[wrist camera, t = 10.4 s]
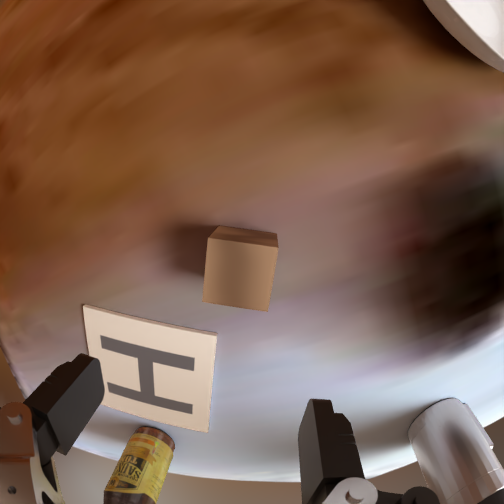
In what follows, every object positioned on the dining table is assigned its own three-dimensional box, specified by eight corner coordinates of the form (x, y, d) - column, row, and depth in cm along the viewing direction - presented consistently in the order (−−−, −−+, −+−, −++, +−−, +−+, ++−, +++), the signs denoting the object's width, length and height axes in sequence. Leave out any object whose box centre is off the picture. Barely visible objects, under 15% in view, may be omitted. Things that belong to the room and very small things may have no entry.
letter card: (217, 333, 29) (216, 336, 28) (208, 429, 33) (207, 432, 32) (85, 304, 29) (82, 306, 28) (101, 400, 33) (99, 403, 32)
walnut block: (276, 233, 26) (278, 247, 21) (268, 287, 27) (267, 311, 22) (219, 225, 26) (207, 237, 21) (213, 279, 27) (202, 301, 23)
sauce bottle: (156, 420, 33) (106, 545, 14) (185, 447, 34) (151, 567, 15) (124, 427, 34) (71, 535, 15) (152, 453, 35) (113, 558, 16)
